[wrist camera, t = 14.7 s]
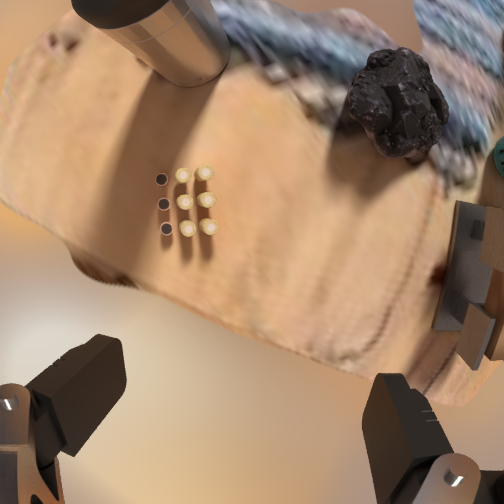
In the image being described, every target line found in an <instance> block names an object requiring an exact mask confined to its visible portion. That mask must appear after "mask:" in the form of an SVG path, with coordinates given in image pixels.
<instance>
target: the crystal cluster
mask: <svg viewBox="0 0 504 504" xmlns="http://www.w3.org/2000/svg"><path fill="white" fill-rule="evenodd" d="M347 97H348V101H349V107H348V110H349V111H350V113H349V114H350V117H351V118H353V119H354V120H356V121H357V122H358V123H359V124H361V125H362V126H363V127H364V129H365V132H366V134H367V137H368V138H369V139H371V140H372V143H373V146H374V148H375V149H376V150H377V151H378V152H379V153H380V154H381V155H383V156H384V157H385V158H386V159H389V158H402V157H407V158H408V157H412V156H415V155H416V154H417V153H419V152H424V151H425V150H427V149H429V148H431V147H432V146H433V145H434V144H436V143H437V142H438V140H439V139H440V138H441V134H442V129H443V126H442V125H444V124H446V123H448V117H449V111H448V109H449V106H448V104H447V102H446V100H445V99H444V96H443V94H442V92H441V90H440V89H439V88H438V86H437V85H436V84H435V83H434V82H433V79H432V75H431V74H430V68H429V65H428V63H426V62H425V61H424V60H423V58H422V57H421V56H419V55H418V54H416V53H415V52H413V51H412V50H410V49H407V48H404V47H401V48H398V49H397V50H396V51H395V50H391V49H384V50H380V51H376V52H374V53H371V54H370V55H369V57H368V59H367V65H366V66H365V67H364V68H362V69H361V70H360V71H359V72H358V73H357V74H356V75H355V77H354V80H353V85H352V87H351V88H350V89H349V91H348V94H347Z"/></svg>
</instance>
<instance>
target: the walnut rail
mask: <svg viewBox="0 0 504 504" xmlns="http://www.w3.org/2000/svg"><path fill="white" fill-rule="evenodd" d="M483 309H484V310H485V311H486V312H488V313H489V314H490V315H492V316H493V317H494V318H495V319H496V320H495V324H494V327H493V330H492V333H491V336H490V339H489V342H488V344H487V347H486V350H485V353H484V355H485V356H486V357H487V358H488V359H489V360H490V361H495V360H504V272H501V271H499V270H497V269H495V268H493V272H492V276H491V280H490V285H489V289H488V293H487V297H486V301H485V304H484V308H483Z"/></svg>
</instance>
